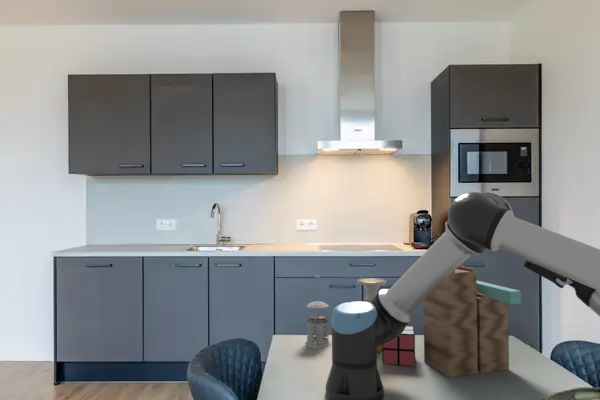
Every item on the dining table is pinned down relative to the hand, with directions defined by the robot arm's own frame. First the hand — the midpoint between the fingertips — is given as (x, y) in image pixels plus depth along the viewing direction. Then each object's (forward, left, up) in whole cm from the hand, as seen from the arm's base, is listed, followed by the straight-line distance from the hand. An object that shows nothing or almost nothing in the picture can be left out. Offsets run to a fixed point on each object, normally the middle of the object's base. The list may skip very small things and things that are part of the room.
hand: (539, 243), depth 121 cm
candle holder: (-26, +49, -40) cm, 68 cm away
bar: (0, +21, -18) cm, 27 cm away
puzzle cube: (-23, +35, -40) cm, 58 cm away
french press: (-43, +59, -40) cm, 83 cm away
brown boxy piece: (-5, +25, -40) cm, 47 cm away
